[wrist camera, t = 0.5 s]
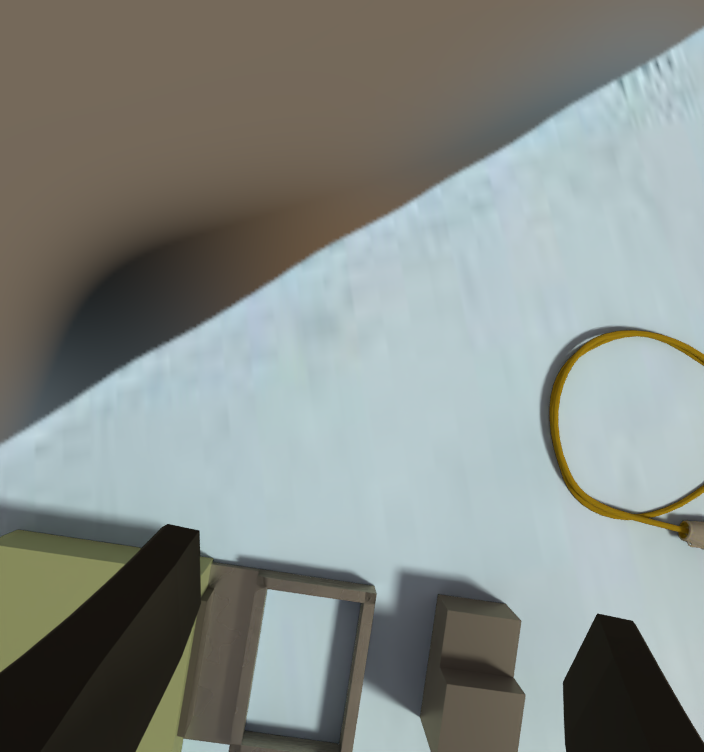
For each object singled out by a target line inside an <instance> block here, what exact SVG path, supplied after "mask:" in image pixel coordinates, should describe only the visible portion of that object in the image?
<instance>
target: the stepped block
mask: <svg viewBox="0 0 704 752" xmlns="http://www.w3.org/2000/svg"><path fill="white" fill-rule="evenodd" d="M520 627H521V620H520V619H519V618H518V617H517V616H516V614H515V613H514V612H513V611H512V610H511V609H510V608H509V607H508V606H507V605H506V604H503V603H496V602H489V601H483V600H476V599H469V598H462V597H455V596H448V595H441V594H438V597H437V604H436V611H435V617H434V624H433V631H432V638H431V645H430V652H429V659H428V665H427V672H426V679H425V686H424V693H423V700H422V706H421V713H420V719H421V722H422V725H423V728H424V732H425V735H426V738H427V741H428V744H429V747H430V750H431V752H518V746H519V738H520V731H521V724H522V717H523V709H524V702H525V693H524V692H523V690H522V689H521V688H520V686H519V685H518V683H517V682H516V680H515V679H514V678H513V677H514V670H515V663H516V655H517V648H518V641H519V634H520Z"/></svg>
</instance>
